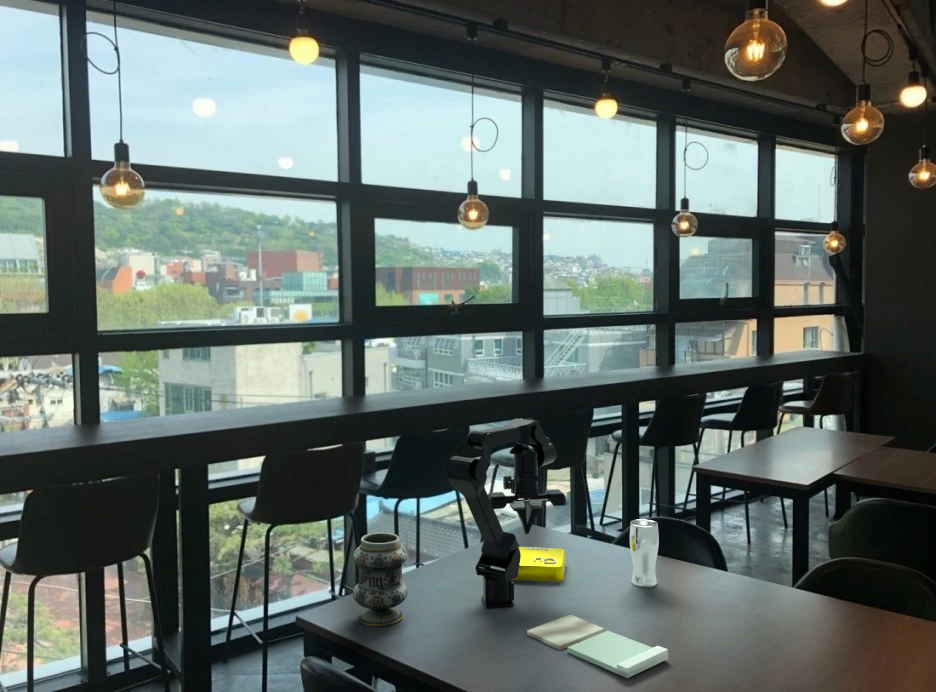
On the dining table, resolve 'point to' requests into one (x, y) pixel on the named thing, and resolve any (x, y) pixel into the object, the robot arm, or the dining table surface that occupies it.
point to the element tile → (541, 564)
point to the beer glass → (644, 551)
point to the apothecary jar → (380, 578)
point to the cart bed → (565, 631)
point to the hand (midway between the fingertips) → (526, 533)
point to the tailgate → (618, 653)
